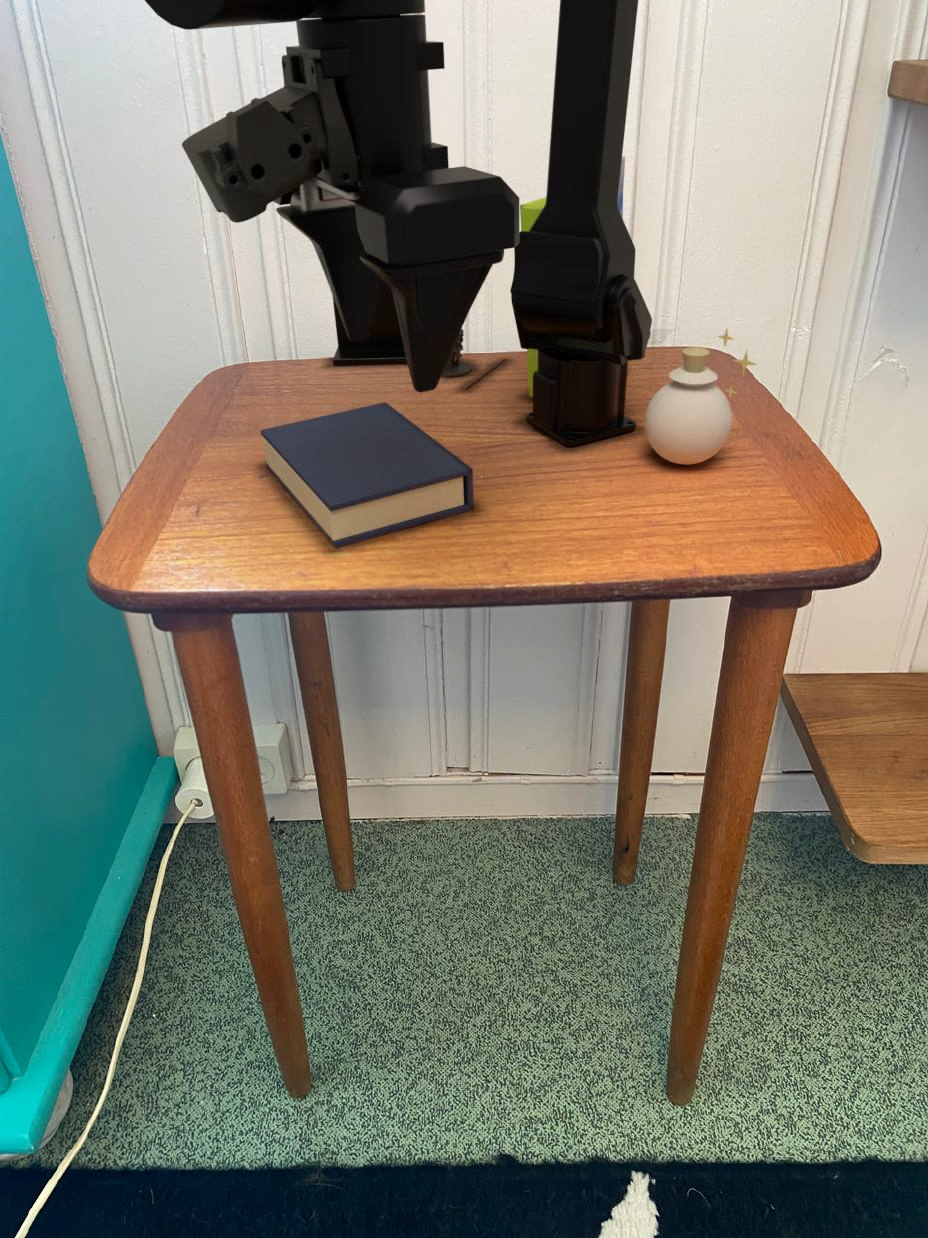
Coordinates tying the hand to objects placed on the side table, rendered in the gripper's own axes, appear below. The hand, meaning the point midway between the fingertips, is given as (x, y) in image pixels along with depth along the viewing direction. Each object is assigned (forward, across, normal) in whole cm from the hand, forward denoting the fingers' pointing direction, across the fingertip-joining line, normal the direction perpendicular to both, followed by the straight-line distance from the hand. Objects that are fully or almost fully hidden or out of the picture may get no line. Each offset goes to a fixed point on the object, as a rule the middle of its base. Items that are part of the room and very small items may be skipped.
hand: (389, 363), depth 49 cm
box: (+13, -20, +25) cm, 35 cm away
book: (+12, -11, +1) cm, 16 cm away
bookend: (+12, -36, +14) cm, 41 cm away
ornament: (+13, -2, +24) cm, 27 cm away
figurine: (+13, -29, +18) cm, 36 cm away
